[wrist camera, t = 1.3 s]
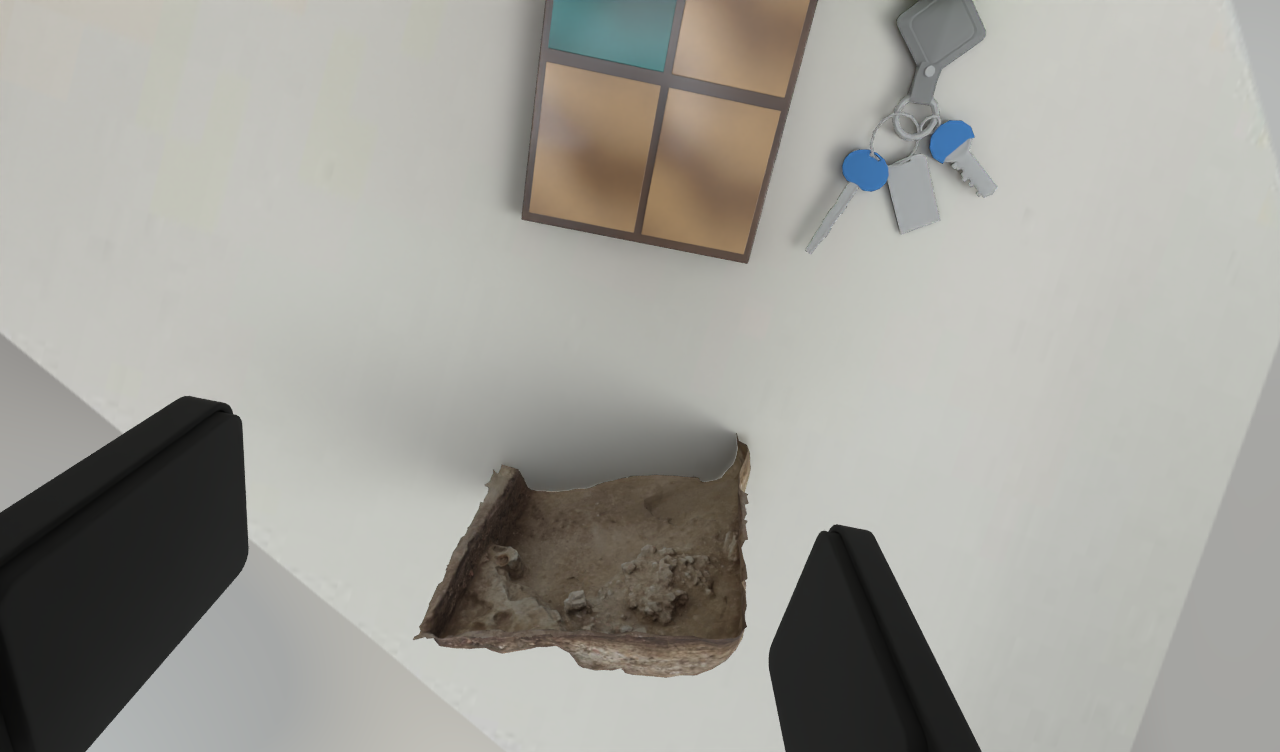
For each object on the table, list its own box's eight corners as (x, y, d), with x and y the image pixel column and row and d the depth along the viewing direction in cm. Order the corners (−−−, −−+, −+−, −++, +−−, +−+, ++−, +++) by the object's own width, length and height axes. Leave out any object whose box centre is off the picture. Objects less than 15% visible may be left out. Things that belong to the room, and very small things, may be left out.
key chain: (917, -37, 29) (924, -41, 28) (1075, 20, 30) (1085, 18, 29) (800, 249, 34) (803, 253, 34) (936, 292, 35) (942, 296, 34)
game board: (566, -144, 28) (561, -155, 26) (834, -82, 28) (843, -91, 27) (525, 215, 34) (520, 220, 33) (744, 258, 35) (748, 264, 34)
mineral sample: (746, 430, 39) (795, 613, 25) (749, 484, 41) (797, 683, 27) (486, 455, 40) (397, 643, 27) (499, 507, 42) (423, 708, 28)
